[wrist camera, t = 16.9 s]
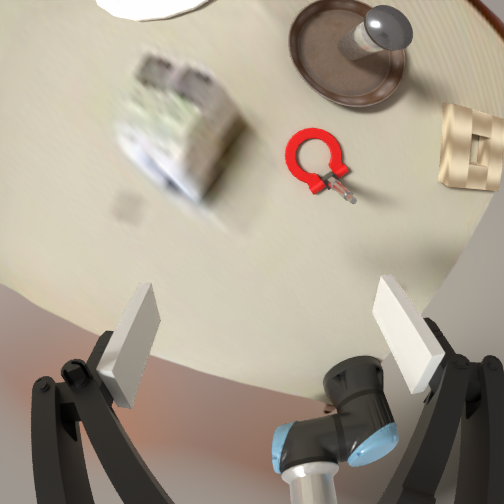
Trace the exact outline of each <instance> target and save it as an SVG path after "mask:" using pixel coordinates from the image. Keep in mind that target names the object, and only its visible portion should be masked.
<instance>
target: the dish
mask: <svg viewBox="0 0 504 504" xmlns="http://www.w3.org/2000/svg"><path fill="white" fill-rule="evenodd" d="M208 1H209V0H96V2H97V4H98V5H99V6H100V7H102V8H103V9H105V10H106V11H108V12H109V13H111V14H112V15H113V16H115V17H118V18H124V19H129V20H134V21H138V22H140V21H149V20H159V19H168V18H170V17H173V16H176V15H179V14H182V13H185V12H188V11H191V10H194V9H196V8H198V7H199V6H201V5H203V4H204V3H206V2H208Z"/></svg>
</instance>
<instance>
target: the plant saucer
mask: <svg viewBox="0 0 504 504" xmlns="http://www.w3.org/2000/svg"><path fill="white" fill-rule="evenodd" d="M372 8H373V7H371V6H369V5H368V4H366V3H364V2H361V1H358V0H316V1H314V2H312V3H310V4H308V5H307V6H305V7H304V8H303V9H302V10H301V11H300V12H299V13H298V14H297V15H296V17H295V18H294V20H293V22H292V24H291V27H290V30H289V36H288V47H289V53H290V57H291V60H292V62H293V65H294V67H295V69H296V70H297V72H298V74H299V75H300V76H301V78H302V79H303V80H304V81H305V82H306V84H307V85H308V86H309V87H311V88H312V89H313V90H314V91H315V92H317V93H318V94H319V95H321V96H322V97H324V98H326V99H328V100H330V101H332V102H335V103H337V104H341V105H345V106H351V107H366V106H371V105H375V104H378V103H380V102H382V101H384V100H385V99H387V98H388V97H389V96H391V95H392V94H393V93H394V92H395V90H396V89H397V88H398V86H399V85H400V83H401V81H402V78H403V75H404V71H405V52H404V49H400V50H397V51H389V50H386V49H383V50H381V51H378V52H375V53H373V54H370V55H368V56H365V57H362V58H360V59H357V60H350V59H347V58H345V57H344V56H343V55H342V54H341V53H340V52H339V49H338V41H339V39H340V38H341V37H342V36H343V35H345V34H346V33H348V32H349V31H350V30H352V29H353V28H355V27H356V26H358V25H359V24H361V23H362V22H363V21H364V18H365V15H366V14H367V12H368V11H370V10H371V9H372Z"/></svg>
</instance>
